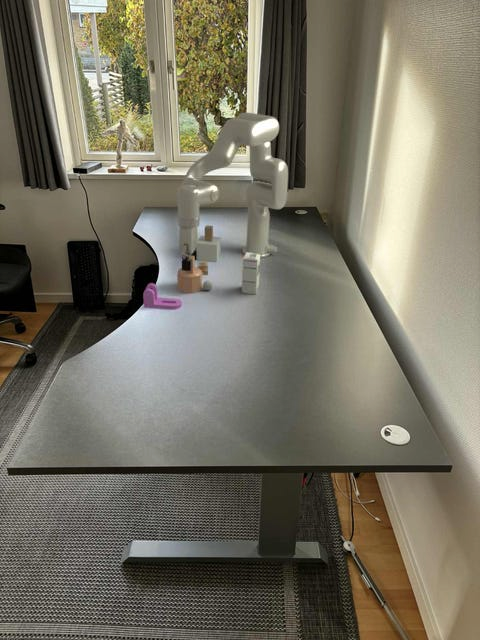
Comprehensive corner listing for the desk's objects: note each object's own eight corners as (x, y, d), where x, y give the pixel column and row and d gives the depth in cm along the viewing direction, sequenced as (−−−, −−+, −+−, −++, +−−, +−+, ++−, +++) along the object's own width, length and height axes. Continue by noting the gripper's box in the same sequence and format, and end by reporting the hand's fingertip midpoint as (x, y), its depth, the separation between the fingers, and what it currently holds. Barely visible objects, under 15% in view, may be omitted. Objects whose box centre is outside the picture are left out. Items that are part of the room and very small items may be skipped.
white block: (220, 254, 216) (220, 224, 209) (216, 262, 208) (217, 231, 201) (200, 252, 217) (200, 222, 210) (196, 260, 209) (196, 229, 202)
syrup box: (256, 294, 184) (258, 259, 177) (241, 292, 185) (242, 257, 178) (258, 288, 189) (261, 253, 182) (243, 286, 190) (245, 251, 183)
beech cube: (207, 270, 201) (207, 262, 199) (207, 275, 198) (207, 266, 195) (197, 271, 200) (197, 262, 198) (198, 275, 197) (197, 266, 195)
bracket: (144, 307, 173) (142, 290, 170) (147, 299, 178) (146, 282, 174) (180, 310, 173) (179, 292, 169) (183, 302, 177) (182, 285, 174)
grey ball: (213, 287, 188) (213, 279, 186) (211, 292, 185) (211, 283, 183) (204, 286, 188) (204, 278, 186) (202, 291, 185) (202, 282, 183)
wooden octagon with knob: (204, 283, 191) (204, 253, 184) (198, 294, 183) (198, 263, 176) (181, 281, 192) (180, 251, 185) (175, 291, 184) (174, 260, 178)
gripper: (184, 212, 181) (185, 255, 190) (172, 228, 167) (173, 273, 175) (204, 214, 180) (204, 256, 189) (193, 230, 166) (194, 275, 175)
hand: (189, 265), depth 182 cm, fingers open, 9 cm apart
